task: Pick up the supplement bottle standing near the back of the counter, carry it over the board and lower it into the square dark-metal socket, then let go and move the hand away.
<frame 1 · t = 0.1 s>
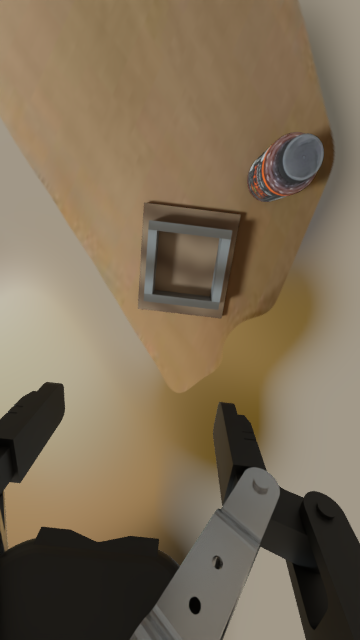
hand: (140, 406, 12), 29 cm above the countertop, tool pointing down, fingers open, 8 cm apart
supplement bottle: (266, 179, 35), on the countertop
socket board: (185, 264, 39), on the countertop
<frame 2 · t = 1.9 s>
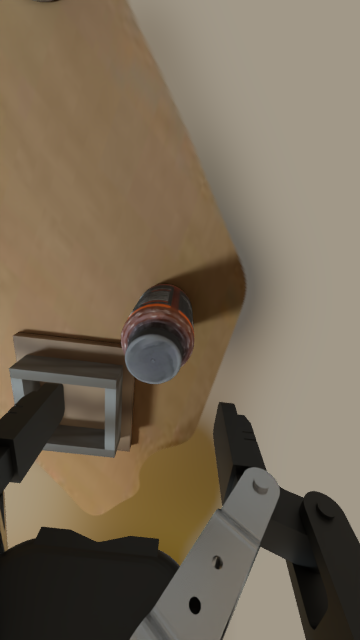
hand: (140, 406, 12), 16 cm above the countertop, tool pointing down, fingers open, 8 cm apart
supplement bottle: (165, 308, 27), on the countertop
socket board: (80, 394, 32), on the countertop
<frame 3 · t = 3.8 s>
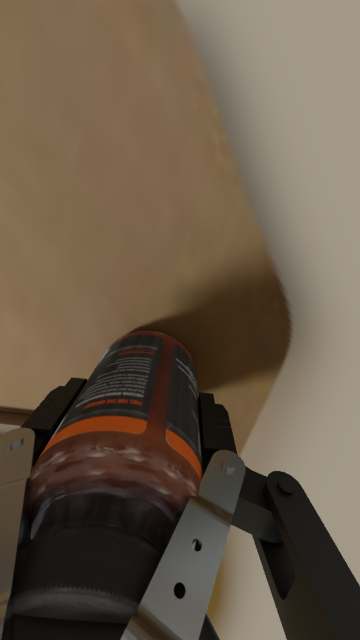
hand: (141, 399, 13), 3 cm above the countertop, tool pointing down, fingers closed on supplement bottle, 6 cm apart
supplement bottle: (150, 367, 16), on the countertop, touching gripper
socket board: (19, 489, 20), on the countertop
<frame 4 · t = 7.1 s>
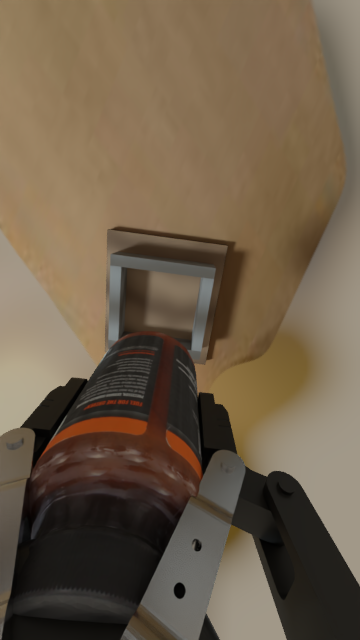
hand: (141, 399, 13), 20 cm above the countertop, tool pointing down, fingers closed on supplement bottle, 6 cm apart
supplement bottle: (150, 367, 16), point 17 cm above the countertop, touching gripper
socket board: (161, 301, 32), on the countertop
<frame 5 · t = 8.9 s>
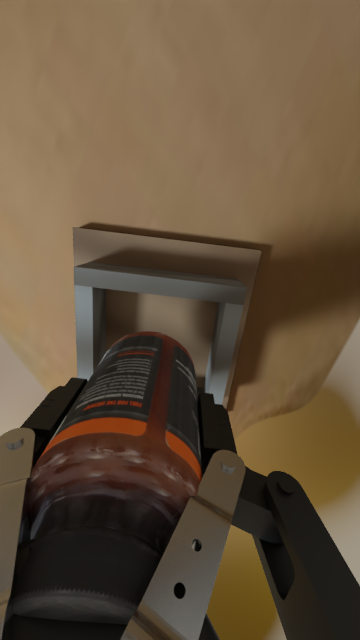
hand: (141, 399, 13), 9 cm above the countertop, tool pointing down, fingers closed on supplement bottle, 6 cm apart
supplement bottle: (150, 368, 16), point 6 cm above the countertop, touching gripper
socket board: (159, 332, 22), on the countertop
when the fingers open (5 cm above the countertop, at t = 10.6 s): supplement bottle drops 1 cm, resting on socket board.
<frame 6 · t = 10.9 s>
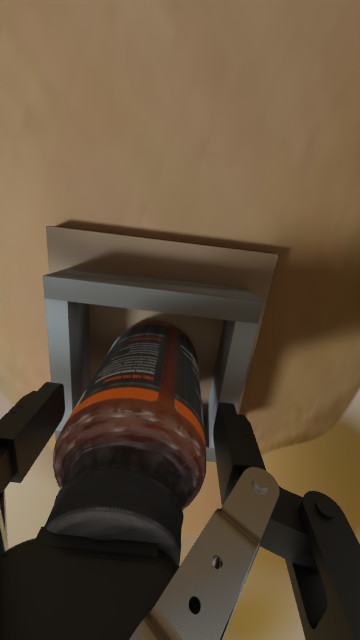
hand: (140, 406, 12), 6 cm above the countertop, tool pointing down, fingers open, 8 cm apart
supplement bottle: (155, 355, 17), point 1 cm above the countertop, touching socket board
socket board: (154, 351, 18), on the countertop
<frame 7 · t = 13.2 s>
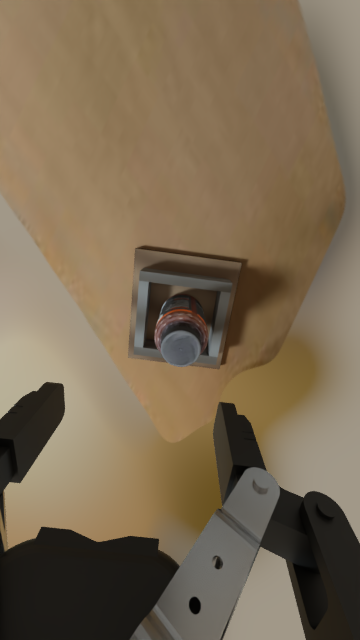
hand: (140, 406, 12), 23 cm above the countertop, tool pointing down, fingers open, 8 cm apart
supplement bottle: (182, 312, 34), point 1 cm above the countertop, touching socket board
socket board: (180, 311, 35), on the countertop
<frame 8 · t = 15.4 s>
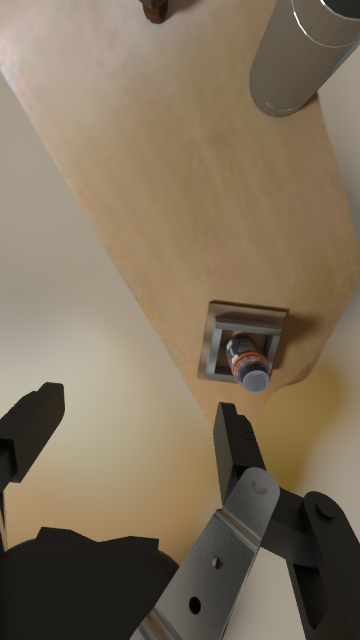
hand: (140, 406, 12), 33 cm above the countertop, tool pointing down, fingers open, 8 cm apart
supplement bottle: (240, 346, 47), point 1 cm above the countertop, touching socket board
socket board: (238, 345, 48), on the countertop
bolt: (156, 10, 32), on the countertop
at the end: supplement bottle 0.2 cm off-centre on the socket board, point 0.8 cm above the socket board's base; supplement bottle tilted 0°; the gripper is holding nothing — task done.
